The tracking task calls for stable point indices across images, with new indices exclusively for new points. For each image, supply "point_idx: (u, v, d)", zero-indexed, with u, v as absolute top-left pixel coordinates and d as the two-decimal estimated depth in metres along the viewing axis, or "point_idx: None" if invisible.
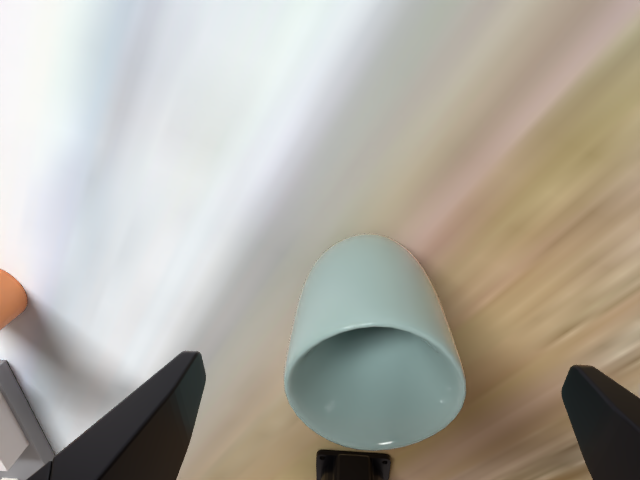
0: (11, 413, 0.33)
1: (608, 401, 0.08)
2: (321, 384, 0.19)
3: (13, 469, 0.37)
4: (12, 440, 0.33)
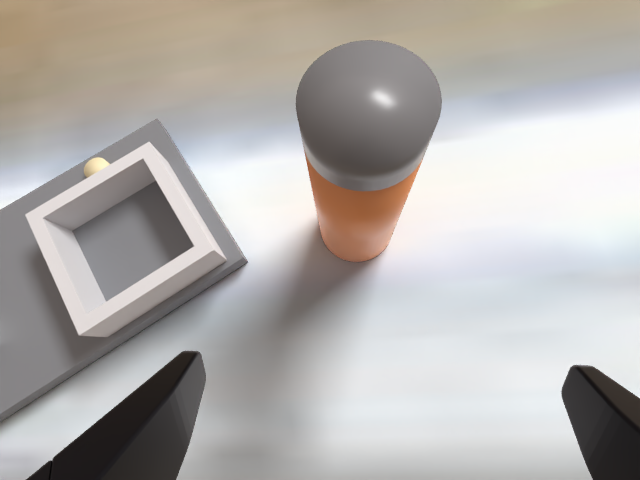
0: (168, 297, 0.23)
1: (608, 401, 0.08)
2: None
3: (25, 332, 0.23)
4: (127, 316, 0.22)
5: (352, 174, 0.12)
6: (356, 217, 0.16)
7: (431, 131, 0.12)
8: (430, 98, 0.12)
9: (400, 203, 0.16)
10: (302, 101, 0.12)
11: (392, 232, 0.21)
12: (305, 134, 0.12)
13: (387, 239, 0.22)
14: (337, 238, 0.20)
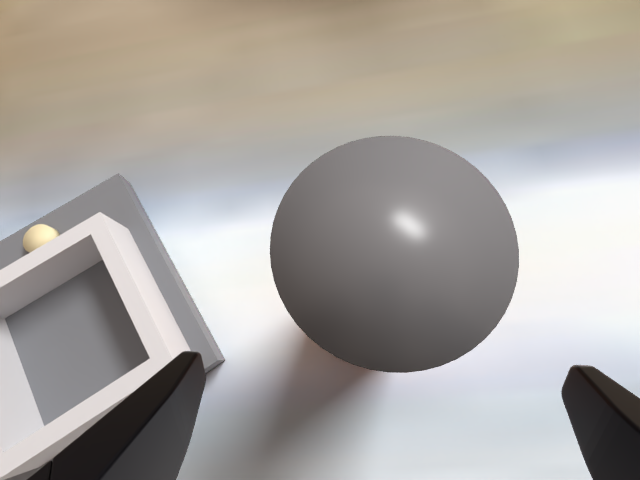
0: None
1: (608, 401, 0.08)
2: None
3: None
4: (62, 446, 0.17)
5: None
6: None
7: (504, 310, 0.07)
8: (499, 245, 0.07)
9: None
10: (281, 243, 0.07)
11: None
12: None
13: None
14: None
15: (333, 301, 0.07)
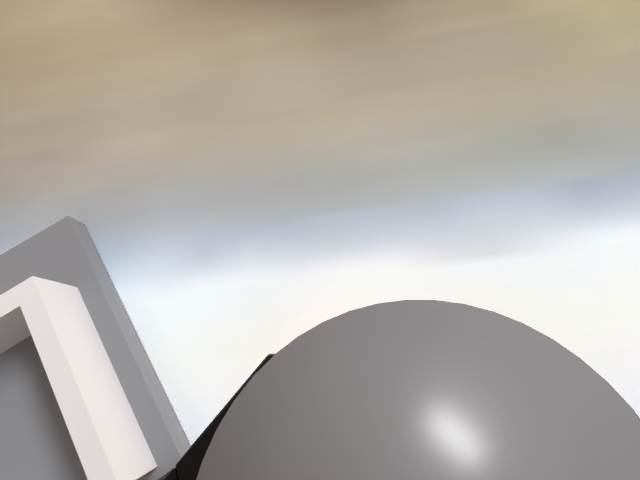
0: None
1: None
2: None
3: None
4: None
5: None
6: None
7: None
8: None
9: None
10: None
11: None
12: None
13: None
14: None
15: None
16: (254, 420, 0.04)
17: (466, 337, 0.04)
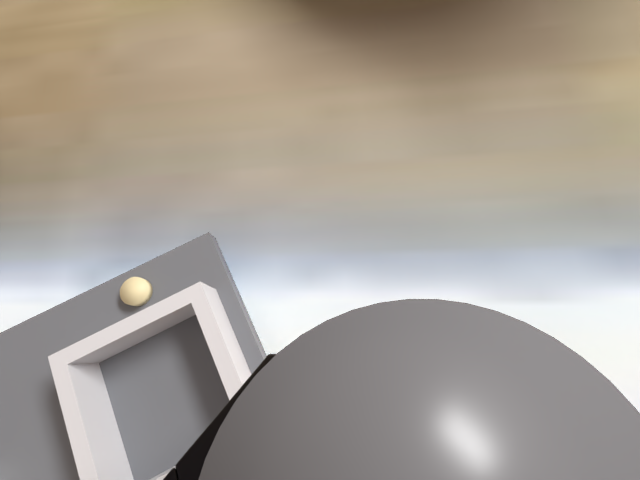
0: None
1: None
2: None
3: None
4: None
5: None
6: None
7: None
8: None
9: None
10: None
11: None
12: None
13: None
14: None
15: None
16: (257, 419, 0.04)
17: (468, 336, 0.04)
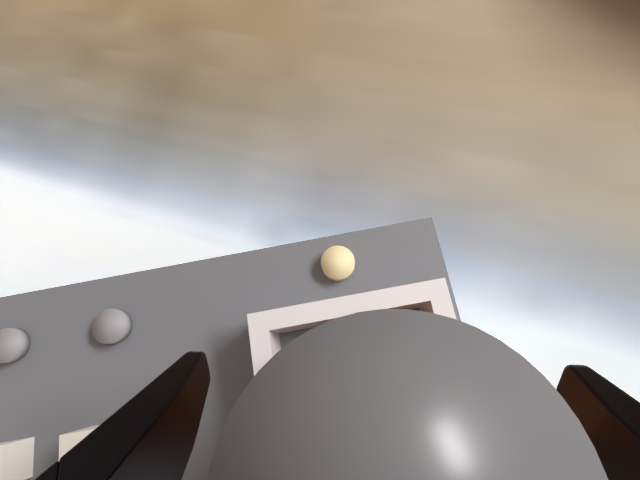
0: None
1: (601, 401, 0.08)
2: None
3: None
4: None
5: None
6: None
7: None
8: None
9: None
10: None
11: None
12: None
13: None
14: None
15: None
16: (259, 405, 0.05)
17: (430, 339, 0.05)
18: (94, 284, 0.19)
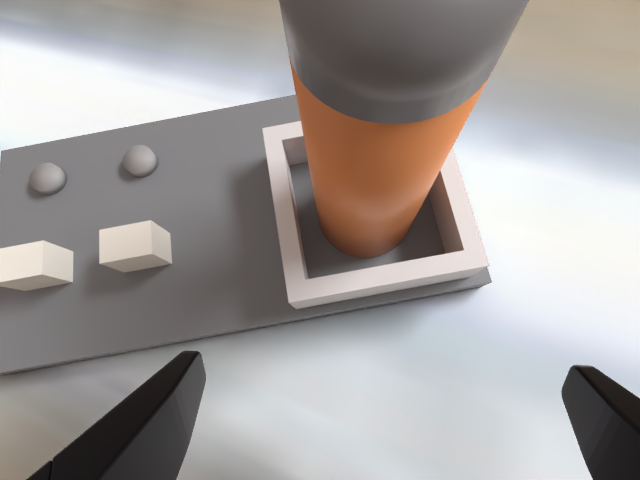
0: (384, 292, 0.18)
1: (608, 401, 0.08)
2: None
3: (204, 262, 0.19)
4: (336, 298, 0.17)
5: (376, 79, 0.07)
6: (372, 182, 0.10)
7: None
8: None
9: (440, 162, 0.11)
10: None
11: (415, 216, 0.16)
12: None
13: (408, 226, 0.16)
14: (341, 222, 0.14)
15: None
16: None
17: None
18: (123, 131, 0.21)
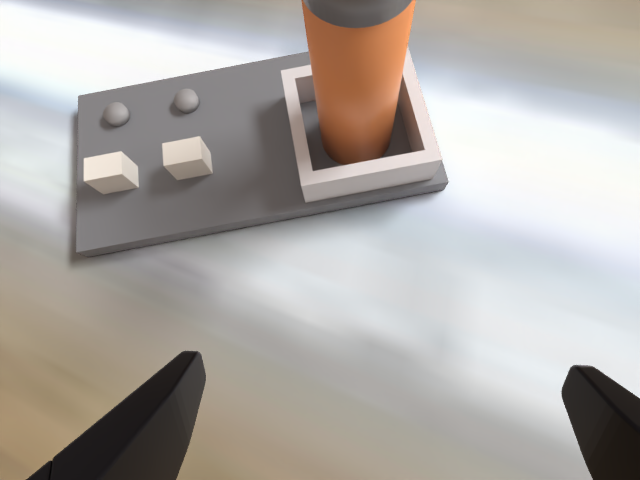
0: (370, 190, 0.24)
1: (608, 401, 0.08)
2: None
3: (236, 171, 0.25)
4: (335, 190, 0.23)
5: None
6: (352, 78, 0.17)
7: None
8: None
9: (395, 67, 0.17)
10: None
11: (390, 127, 0.22)
12: None
13: (385, 134, 0.22)
14: (336, 126, 0.21)
15: None
16: None
17: None
18: (172, 80, 0.28)
